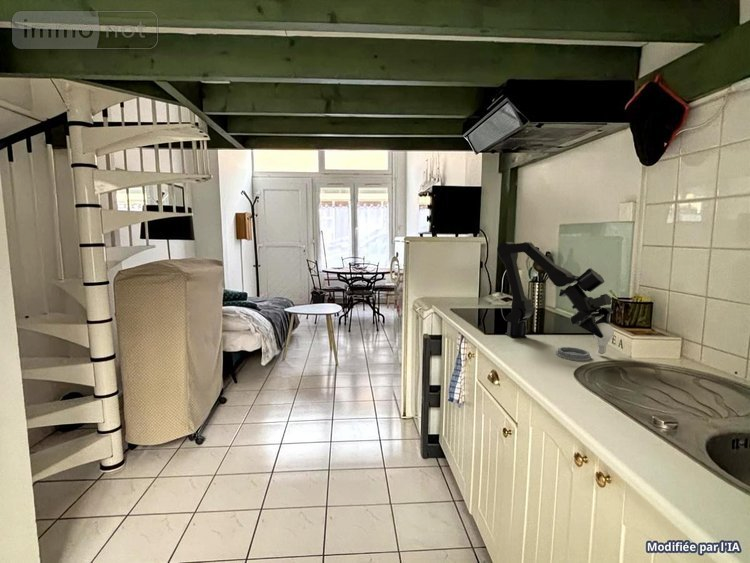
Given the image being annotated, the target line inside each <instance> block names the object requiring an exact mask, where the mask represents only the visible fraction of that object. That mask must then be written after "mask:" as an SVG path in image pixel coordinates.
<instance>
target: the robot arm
mask: <svg viewBox="0 0 750 563" xmlns="http://www.w3.org/2000/svg"><path fill="white" fill-rule="evenodd" d="M496 248H497V249H496V250H497V251H496V252H497V254H498V256H499V260H501V262H502V263H503V264H504V266H505V271H506V275H507V280H508V284H509V287H510V293H511V296H512V300H511V307H510V308H511V312H510V313H508V314H507V315H506V316H505V319H506V322H507V330H506V332H505V335H506V336H509V337H510V338H512V339H513V338H514V339H515V338H517V339H518V338H519V339H521V338H528V337H527V328H528V327H527V321H528V319H529V318H530V317H531V316H532V315H533V312H534V309H535V308H534V306H533V303H532V302H533V301H532V299H531V298H530V299H528V298H527V297H526V296H525V291H524V287H523V283H522V278H521V275H520V271H519V270H520V269H519V266H518V258H519V257H518V256H519V253H525V255H527V256H528V257H529V258H530V259H531V260H532V261H533V262H534V263H535V264H536V265H538V266H539V267H540V268H541V269H542V270H543V271H544V272H545V273H546V275H547V277H548V279H549V280H550V281H551V282H552V284H553V285H554V286H555V287H557V288H560V287H561V289H559V290H560V292H559V295H558V296H559V297H567V299H568V300H569V301H570V303H571V304H572V306H571V308H572V309H573V310H575V309H576V310H577V312H576V313H575V314H573V315H572V316H571V317H570V318H569V319H570V320H569V322H570V323H571V324H572V326H578V327H579V328H580V327H581V328H582V329H583V330H586V331H588V332H589V333H591V334H593V336H594V335H596V336H598V337H599V338H602V337H603V334H602V333H601V331H600V329H599V328H598V326H597V324H599V323H607V324H609V325H611V323H610V316H612V315H611V314H613V313H614V311H613V309H612V307H611V305H612V300H613V298H612V297H611V296H610V295H609V294H608V293H604V294H600V296H599V297H595V298H594V297H591V296H588V295H587V294H586V292H589V293H591V292H593V291H594V290H595V289H598V287H600V286H601V285H603V284H604V283H605V280H604V278H603V276H602V275H601V274H599V273H598V272H596V271H595V270H594V269H593V268H592V267H589V268H588V269H586V270H585V272H583V273H582V274H580V275H578V276H577V275H573V273H572V272H571V271H569V270H568V269H566V268H564V267H562V266H560V265H558V264H556V263H555V262H553V261H552V260H551V259H550V258H549V257H548V256H546V255H545V253H543V252H542V251H541V250H540V249H538V247H537V246H535V245H534V244H533V243H532V242H531V241H526V242H525V241H524V242H520V243H519V242H517V243H516V242H515V243H514V242H512V241H508V242H507V241H504V242H502V241H501V242H500V243H499V244H498V246H497V247H496ZM574 283H575V284H574ZM572 284H573V285H572ZM562 287H566V288H564V289H563V288H562ZM609 306H610V307H609Z"/></svg>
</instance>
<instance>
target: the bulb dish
mask: <svg viewBox="0 0 750 563" xmlns="http://www.w3.org/2000/svg"><path fill="white" fill-rule="evenodd" d="M555 355H556V356H557V357H559V358H561V359H564V358H565V359H564V360H568V359H569V360H570V361H576V362H587V361H591V359H592V356H591V355H590V352H589V351H588V350H587V349H582V348H579V347H571V346H561V347H558V348H557V350H556V351H555ZM569 360H568V361H569Z"/></svg>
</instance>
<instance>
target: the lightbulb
mask: <svg viewBox="0 0 750 563" xmlns="http://www.w3.org/2000/svg"><path fill="white" fill-rule="evenodd" d="M597 326H598V328H599V329H600V331H601V333H602V334H603V337H602V338H599V337H598V336H596V335H594V334H593V336H594V337H595V339H596V344H597V350H596V351H597V353H598V354H600V355H603V354H606V352H607V347H608V344H609V343H610V341H611V340H612V339H613V338H614V336H615V329H614V328H613V326H612V325H611V324H610V325H609V324H607V323H599V324H597Z"/></svg>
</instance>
